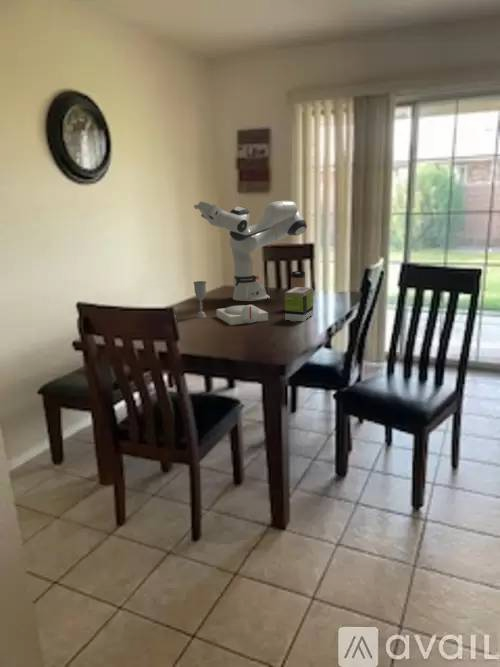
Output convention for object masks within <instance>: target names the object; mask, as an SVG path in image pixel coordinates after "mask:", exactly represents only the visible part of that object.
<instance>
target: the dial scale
mask: <svg viewBox="0 0 500 667" xmlns="http://www.w3.org/2000/svg"><path fill="white" fill-rule="evenodd" d="M216 318H218V319H220V320H222V321H223V322H225V323H227V324H228V325H229V326H233V325H235V326H236V325H241V324H253V323H258V322H265V321H269V312H267V311H266V310H263V309H261V308H259V307H258V306H255V305H254V304H247V305H244V304H242V305H231V306H228V307H225V308H216Z"/></svg>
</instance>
